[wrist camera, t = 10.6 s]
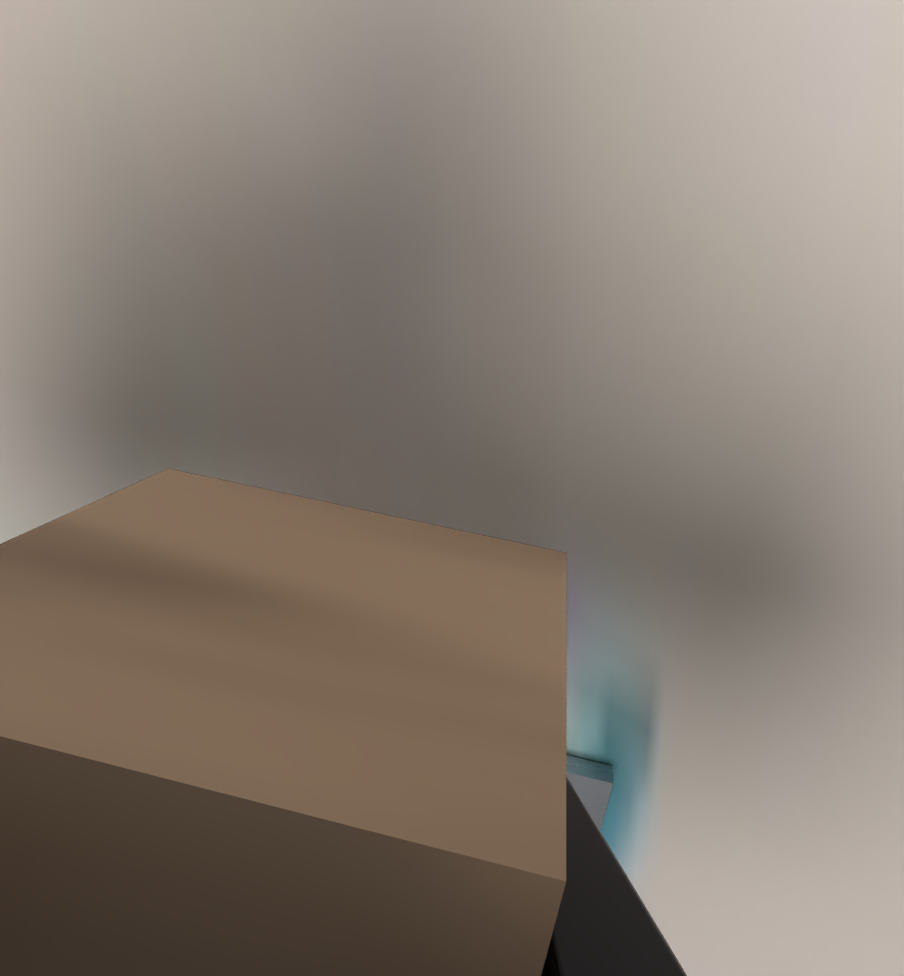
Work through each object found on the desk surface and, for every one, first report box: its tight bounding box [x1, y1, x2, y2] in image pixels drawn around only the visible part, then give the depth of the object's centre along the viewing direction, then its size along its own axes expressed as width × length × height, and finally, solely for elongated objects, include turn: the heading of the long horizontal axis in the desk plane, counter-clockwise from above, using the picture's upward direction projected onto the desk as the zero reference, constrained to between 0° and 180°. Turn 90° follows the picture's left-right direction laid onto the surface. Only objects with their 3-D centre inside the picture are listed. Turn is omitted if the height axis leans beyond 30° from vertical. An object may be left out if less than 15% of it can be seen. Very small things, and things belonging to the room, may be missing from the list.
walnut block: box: [0, 469, 566, 976], centre depth 7 cm, size 5×5×5 cm
